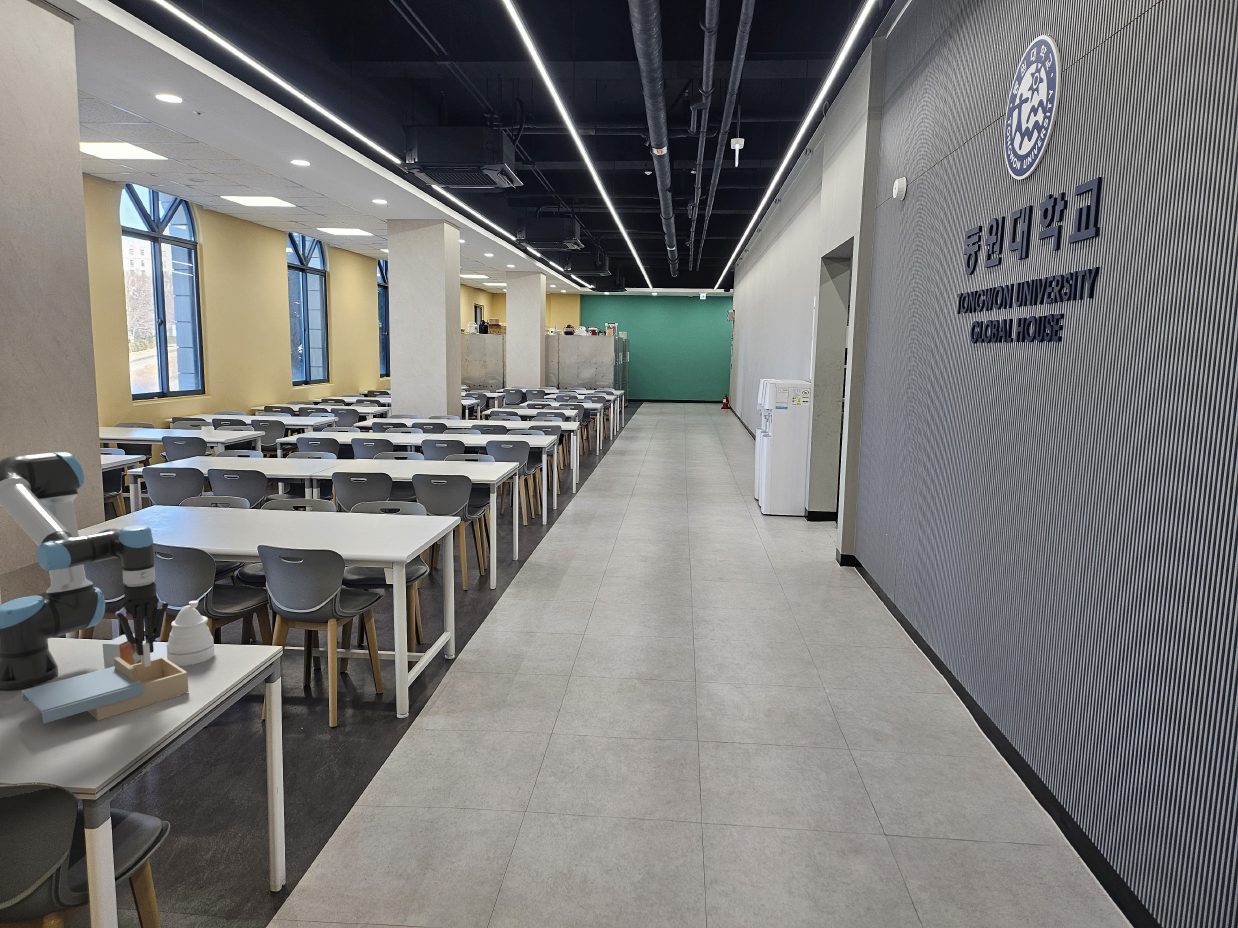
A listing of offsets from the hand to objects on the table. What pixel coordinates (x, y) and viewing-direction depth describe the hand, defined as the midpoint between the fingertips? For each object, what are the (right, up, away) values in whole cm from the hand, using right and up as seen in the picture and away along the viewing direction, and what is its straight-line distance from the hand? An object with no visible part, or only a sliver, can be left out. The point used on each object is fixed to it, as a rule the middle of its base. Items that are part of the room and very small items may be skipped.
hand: (146, 664), depth 215 cm
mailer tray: (-2, -8, -2) cm, 9 cm away
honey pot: (-2, -5, +27) cm, 27 cm away
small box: (-15, -6, +14) cm, 22 cm away
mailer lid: (-10, -6, -11) cm, 16 cm away
